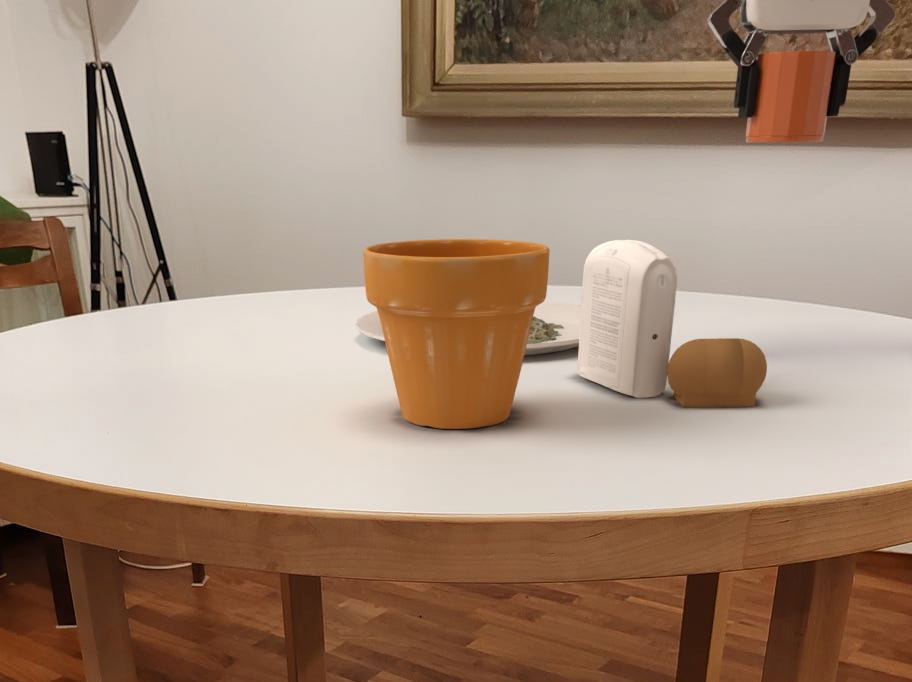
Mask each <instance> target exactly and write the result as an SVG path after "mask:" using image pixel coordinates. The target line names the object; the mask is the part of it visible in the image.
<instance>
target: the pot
mask: <svg viewBox="0 0 912 682" xmlns="http://www.w3.org/2000/svg"><path fill="white" fill-rule="evenodd" d="M836 55H837V52H835V51H831V50H792V51H791V50H790V51H775V52H773V51H771V52H763V53H762V52H761V53H758V55H757V57H756V59H757V61H756V66H758V68H759V79H758V87H757V95H756V103H755V111H754V115H753V116H751V117H750V118H747V119H746V129H745V143H815V142H816V143H817V142H820V143H821V142H823V141H824V136H825V134H826V127H827V120H828V117H827V114H828V108H829V101H830V94H831V88H832V81H833V75H834V68H835V61H836Z"/></svg>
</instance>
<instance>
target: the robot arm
mask: <svg viewBox="0 0 912 682" xmlns="http://www.w3.org/2000/svg"><path fill="white" fill-rule="evenodd" d="M738 10H739V25H740V28H741V29H742V30H743V31H745V32H747V34H746V36H745V38H744V40H743V39H742V38H741V36H739V34H738V33H737V32H736V31H735V30H734V28H733V26H732V25H731V22H730V19H731V17H732V16H733V14H735V13H736V12H737V11H738ZM868 14H869V15H870V20H869V22H868V23H867V25H866V26H865V27H864V28H863V29H862V30H861V31H860V32H859V33H857V34H856V36H854V34H853V30H852V28H854V27H857V26H859V25H861V24H862V23H863V22H864V21H865V19H866V18H867V16H868ZM896 15H897V11H896V10H895V8H894V7H893V6H892V5H891V4H890V2H889V1H888V0H724V1H723V2H722V3H721V4H720V5H718V6H717V7H716V8H715V9H714V10H713V11H712V12H711V13H710V14H709V15H708V17H707V20H706V22H707V25H708V27H709V28H710V30H711V31H712V32H713V34H714V36H715V37H716V39H717V40H718V41H719V43H720V46H721V47H722V49H723V50H724V51H725V52H726V54H727V55H728V57H730V59H731V60H732V62H733V64H734V66H735V68H737V70H736V71H737V72H736V80H735V89H734V90H735V91H734V98H733V108H734V109H738V114H737V117H738V119H746V118H747V119H748V118H750V117H751V116H753V115H754V111H755V103H756V95H757V87H758V79H759V68H758V66H756V61H757V59H756V57H757V55H758V54H760V51H762V48H763V46H764V45H765V43H766V41H767V39H768V37H769V36H770V35H801V34H826V38H827V43H828V45H829V47H830V51H835V52H837V55H836V61H835V68H834V75H833V81H832V88H831V94H830V101H829V108H828V114H827V118H828V117H838V116H839V114H840V107H844V106H845V104H846V100H847V95H848V94H847V93H848V90H849V89H848V88H849V83H850V82H849V81H850V76H851V70H852V65H853V64H854V65H855V63H856V62H857V61H858V59H859V57H860V56H861V55H863V54H864V53H865V52H866V51H867V50H868V49H869V48H870V47H871V46H872V45H873V44H874V43H875V42H876V40H877V39H878V37H879V36H880V35H881V34H882V33H883V32H884V31H885V30H886V29H887V28H888V26H889V25H891V23H892V22H894V20H895V18H896Z"/></svg>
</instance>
